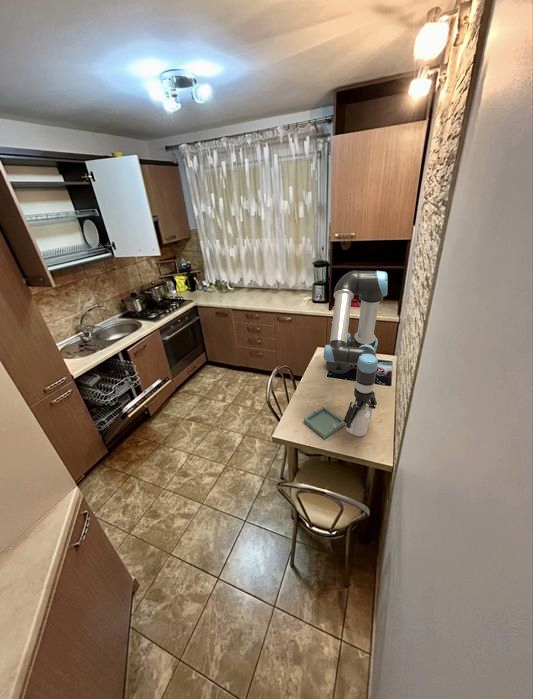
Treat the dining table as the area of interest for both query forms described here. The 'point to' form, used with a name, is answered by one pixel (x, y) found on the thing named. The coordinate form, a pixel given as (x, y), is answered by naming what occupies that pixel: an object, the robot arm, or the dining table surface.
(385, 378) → the dining table surface
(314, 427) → the tray
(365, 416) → the pill bottle
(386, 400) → the dining table surface
